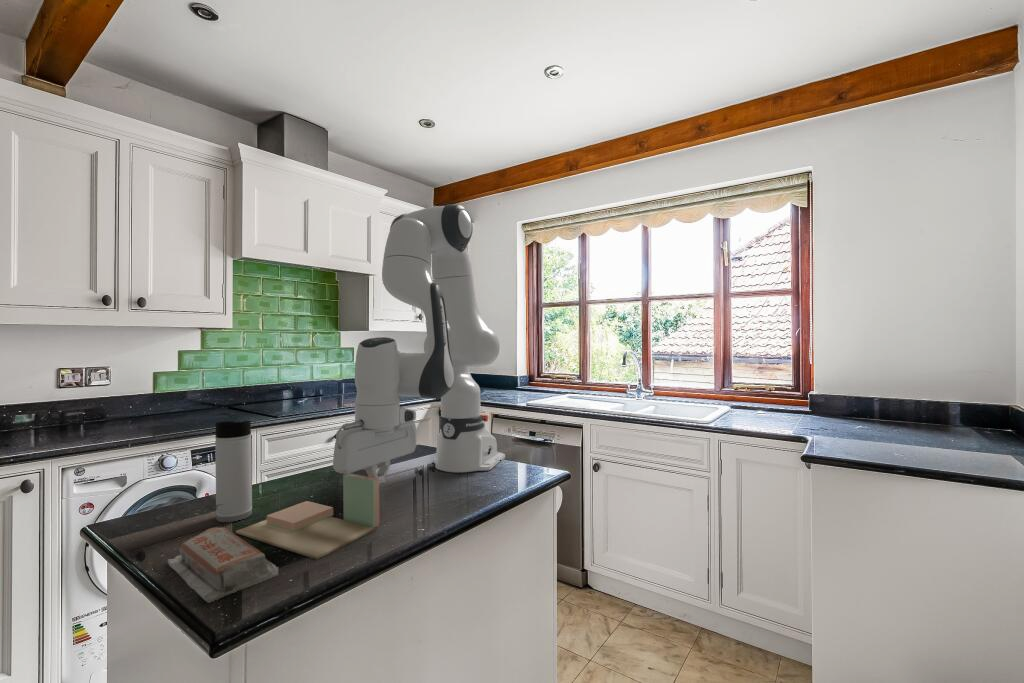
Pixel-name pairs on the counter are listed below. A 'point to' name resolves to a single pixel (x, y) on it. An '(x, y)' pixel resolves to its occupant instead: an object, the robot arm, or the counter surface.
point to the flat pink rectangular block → (299, 516)
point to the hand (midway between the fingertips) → (377, 484)
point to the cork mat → (308, 536)
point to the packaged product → (220, 564)
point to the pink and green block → (361, 499)
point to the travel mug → (233, 470)
